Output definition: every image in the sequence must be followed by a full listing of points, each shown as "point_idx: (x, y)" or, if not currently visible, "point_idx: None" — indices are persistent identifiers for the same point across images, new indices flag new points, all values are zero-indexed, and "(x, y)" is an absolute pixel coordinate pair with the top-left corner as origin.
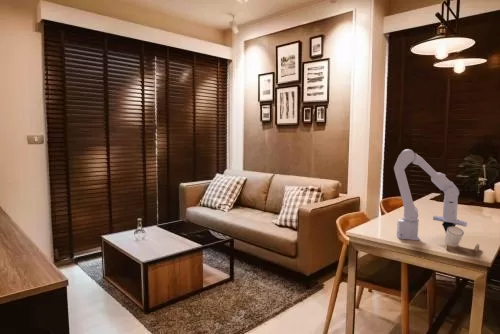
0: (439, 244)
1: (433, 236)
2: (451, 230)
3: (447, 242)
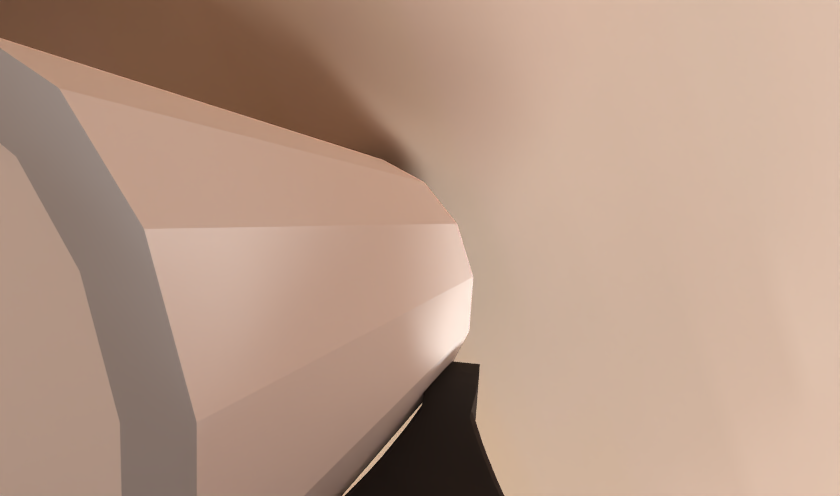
0: (514, 62)
1: (792, 492)
2: (25, 314)
3: (364, 155)
